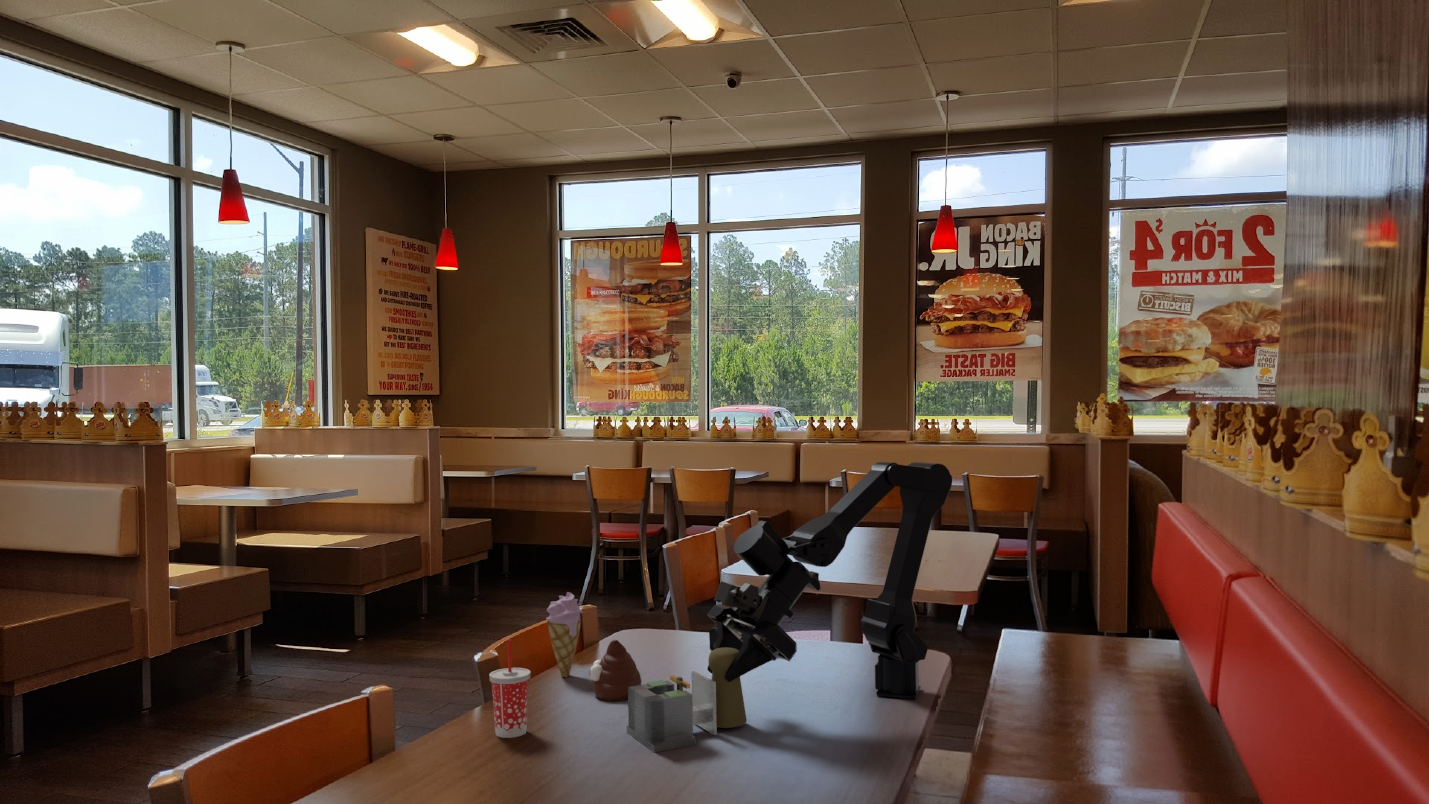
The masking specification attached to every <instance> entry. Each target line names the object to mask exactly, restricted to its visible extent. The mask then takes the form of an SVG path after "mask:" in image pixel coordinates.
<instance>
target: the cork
mask: <svg viewBox="0 0 1429 804" xmlns="http://www.w3.org/2000/svg"><path fill="white" fill-rule="evenodd" d="M738 652H739V650H737V649H735V648H728V647H724V648H717V649H714V650H710V653H709V655H708V658H707V659H708V661H707V662H708V665H709V667H710V669H711V670H712V673H711V680H713V681H715V682H716V724H717V728H722V729H724V728H725V729H726V728H727V729H730V728H736V727H740V726H741V727H742V726H743V725H745V724H746V723H747V720H748V719H747V714H746V713H747V712H746V707H745V699H744V694H743V688H742V682H741V676H740V677H738V678H736V679H734V680H733V681H731V682H728V681H726V680H725V679H724V676H725V674H726V672H727V670H728V668H729V667H730V665H731V664H732V662H733V660H734V659H735V657H736V655H737V654H738Z"/></svg>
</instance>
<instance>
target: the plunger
mask: <svg viewBox="0 0 1429 804" xmlns="http://www.w3.org/2000/svg"><path fill="white" fill-rule="evenodd" d="M669 680H670V682H672V683H676V690H680V691H684V689H685V690H688V689H691V694H692V708H693V726H695V725H697V726H699V727H700V728H702V729H703V730H705V731H706V732H708V733H710V734H711V735H717V734H718V733H717V731H718V730H717V729H718V727H717V724H716V682H715V681H713V680H712V678H709V677H707V676H705V675H703V674H701V673H699V672H697V671H695V670H692V671H691V683H689V682H687V681H685V680H683V677H681V676H679V677H678V676H676V675H674V674H673V675H672V674H670V675H669Z"/></svg>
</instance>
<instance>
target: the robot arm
mask: <svg viewBox="0 0 1429 804" xmlns="http://www.w3.org/2000/svg"><path fill="white" fill-rule="evenodd" d="M952 486H953V476H952V474H951V472H950V470H949V469H948V468H947V466H946V465H944V464H942V463H934V462H924V461H923V462H921V461H920V462H919V461H915V462H911V463H909V464H907V465H904V464H899V463H898V462H893V461H890V462H889V461H879V462H876V463H874V464H873V465H872V466H871V468H870V470H869V471H868V472H867V473H866V474H865V475H864V476H863V477H862V478H860V480H859V481H858V482H857V483H856V484H855V485H854V486H853V487H852V488H851V489H849V491H848V492H846V494H844V496H843V497H841V499H840V500H838V501H837V502H836V503H835V504H834V505H833V506H832V507H831V508H830V509H829V510H828V511H827V512H825V513H823V515H820V516H817V517H815V518H813V519H810V520H809V521H807V522H806V523H804V524H803V525H802V526H800V527H798V528H797V529H796V530H794V531H793V533H792V534H791V535H789V536H785V537H781V536H780V535H779V534H778V533H777V532H776V531H775V529H774V528H773V526H772V525H771V524H770V523H769V521H764V520H759V521H758V522H757V523H756V525H754V526H751V527H750V528H748V529H746V530H745V531H744V532H743V533H741V534H740V535H739V536H738V537H737V539H736V540H735V542H734V544H733V551H734V553H735V554H736V555H737V556H738V557H739V558H740V559H742V561H743V562H744V563H745V564H746V565H747V566H748V567H749V568H750V569H751V570H752V571H753V572H754V573H755V574H757V576H758V577H759V576H760V577H762V576H767V578H765V581H763V583H762V584H761V586H760V587H759V586H756V585H754V584H750V583H748V582H745V583H743V584H742V585H741V586H738V585H735V584H731V583H729V582H726V581H722V580H721V581H720V582H719V585H718V588H717V591H716V593H715V596H714V599H713V601H715V602H717V603H721V604H714V605H713V606H712V608H710V610H709V612H708V613H707V616H708V617H709V619H711V620H712V621H713V622H714V625H715V627H717V632H718V638H717V642H716V645H715V648H714V649H717V648H724V647H728V648H735V649H737V650H739V652H738V654H737V655H736V657H735V659H734V660H733V662H732V664H731V665H730V667H729V668H728V670H727V672H726V674H725V676H724V679H725V680H726V681H728V682H731V681H733V680H734V679H736V678H738V677H740V678H741V676H744V675H745V674H747V673H749V672H751V671H753V670H755V669H756V668H759V667H762V666H763V665H765V664H766V663H769V662H771V661H773V662H775V661H776V660H777V659H778V658H777V656H778V657H779V658H780V659H782V660H785V661H787V662H791V661H792V659H793V658H794V656H795V655H796V653H797V652H798V651H797V647H798V646H797V642H796V641H795V640H794V639H793V638H792V637H791V636H790V635H789V634H788V633H787V632H786V631H785V630H784V629H783V628H782V627H781V626H780V624H781V623H782V621H783V620H784V619H786V618H787V619H788V620H789V619H791V618H792V617H793V616H794V612H793V611H792V610H791V609H792V607H793V606H794V605H795V603H796V602H797V601H798V600H799V598H800V597H801V595H802V594H803V592H804V591H805V589H806V588H807V589H811V590H814V591H820V590H821V587H822V586H821V582H820V579H819V577H820V573H818V572H815V571H812V570H810V571H809V569H808V568H806V566H805V565H804V564H807V565H809V566H810V565H811V566H813V567H820V568H821V567H822V568H827V567H829V566H830V565H831V564H833V562H834V561H836V559H837V557H838V556H839V555H840V554H841V552H842V551H843V549H844V548H845V545H846V541H847V538H848V535H849V534H850V533H851V532H852V530H853V529H854V528H855V527H856V526H857V525H858V524H859V523H860V522H861V521H862V520H863V519H864V518H865V517H866V516H868V514H869V513H870V512H871V511H873V509H874V508H876V507H877V505H878V504H879V503H880V502H881V501H882V500H883V499H884V498H885V497H886V496H887V495H888V494H889V493H890V492H891V491H892V490H893V489H895V487H899V495H900V500H901V504H902V505H901V506H902V510H903V511H902V515H901V518H900V522H899V526H898V531H897V534H896V539H895V542H894V543H895V544H894V546H893V547H894V548H893V549H892V550H893V551H892V554H891V559H890V562H889V565H888V570H887V574H886V577H885V582H884V586H883V589H882V592H881V593H880V595H879V596H877V598H876V599H871V598H868V599H867V601H866V603H865V610H864V614H863V617H862V618H861V619H860V623H863V625H862V633H863V635H864V638H865V640H866V641H867V642H868V644H869V647H870V650H871V652H872V653H874V654H877V655H878V656H877V662H876V663H875V665H874V688H875V690H877V691H875V692H876V693H875V695H876V696H878V697H889V698H898V699H899V698H900V699H910V700H915V699H916V698H917V697H918V695H919V693H920V691H921V688H922V686H921V685H920V683H919V682H920V681H919V677H920V676H919V661H923V660H925V659H926V656H927V654H928V649H929V648H928V646H927V645H926V644H925V642H924V641H923V640H922V639H921V638H920V637H919V636H918V635H917V634H916V633H915V630H916V621H917V618H916V613H915V609H914V603H913V596H914V591H915V588H916V584H917V580H918V576H919V571H920V569H921V565H922V560H923V557H924V552H925V549H926V544H927V541H928V535H929V533H930V528H931V523H932V521H933V517H934V516H935V515H936V514H937V512H939V510H940V509H942V507H943V506H944V505H945V504H946V501H947V498H948V496H949V494H950V490H951V489H952ZM789 556H790V557H789ZM791 556H792V558H793V559H794V560H795V561H793V560H792V559H791ZM742 639H743V642H742V641H741V640H742ZM777 650H778V653H776V651H777ZM776 654H777V656H775V655H776ZM706 669H707V671H708V673H710V674H712V670H711V669H710V667H709V664H708V666H707V667H706Z"/></svg>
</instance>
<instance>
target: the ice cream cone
mask: <svg viewBox="0 0 1429 804" xmlns="http://www.w3.org/2000/svg"><path fill="white" fill-rule="evenodd" d="M558 598H559V599H558V600H556V601H550V604H549V606H548V607H547V608H546V611H547V612H548V614H549V616H548V617H546V618H545V619H546V621H547V622H546V623H547V627H548V634H549V638H550V642H551V645H552V649H553V653H554V656H555V660H556V663H557V666H558V669H559V670H558V671H559V673H560V676H561V677H563V678H567V677H569V676H570V675H571V674H570V673H571V671H572V670H571V669H572V667H573V662H574V659H575V658H574V657H575V654H576V650H577V646H578V642H579V640H578V639H579V636H580V629H581V623H582V619H581V614H582V613H583V614H584V610H583V611H582V609H581V608H580V607H579V604H578V601H579V599H578V598H575V595H574V594H573V593H572V592H569V591H567V592H566V595H565V596H564V595H558Z"/></svg>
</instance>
